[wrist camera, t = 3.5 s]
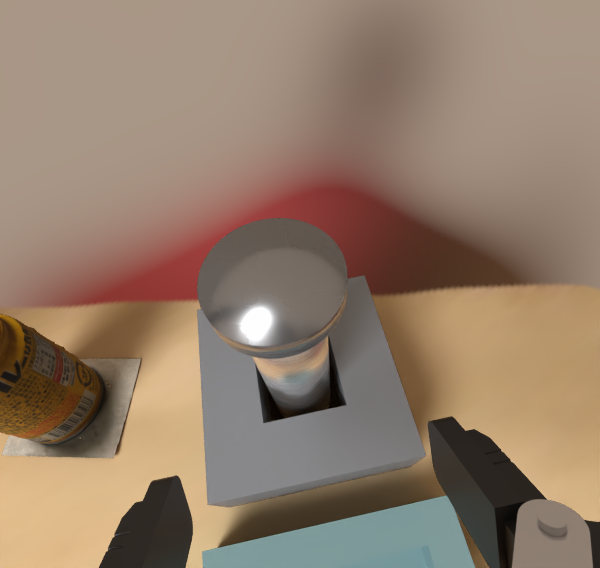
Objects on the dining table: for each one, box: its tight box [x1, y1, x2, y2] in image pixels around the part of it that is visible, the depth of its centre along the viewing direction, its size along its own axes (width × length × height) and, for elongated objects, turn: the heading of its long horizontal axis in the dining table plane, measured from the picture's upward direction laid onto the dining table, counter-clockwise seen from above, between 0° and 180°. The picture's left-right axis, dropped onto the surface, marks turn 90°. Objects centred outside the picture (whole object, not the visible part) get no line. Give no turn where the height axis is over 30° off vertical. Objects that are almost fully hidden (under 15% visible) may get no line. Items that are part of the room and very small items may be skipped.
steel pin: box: [197, 218, 348, 418], centre depth 21 cm, size 6×6×16 cm
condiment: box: [0, 314, 141, 458], centre depth 24 cm, size 7×8×12 cm
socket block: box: [197, 276, 426, 507], centre depth 26 cm, size 12×12×5 cm
